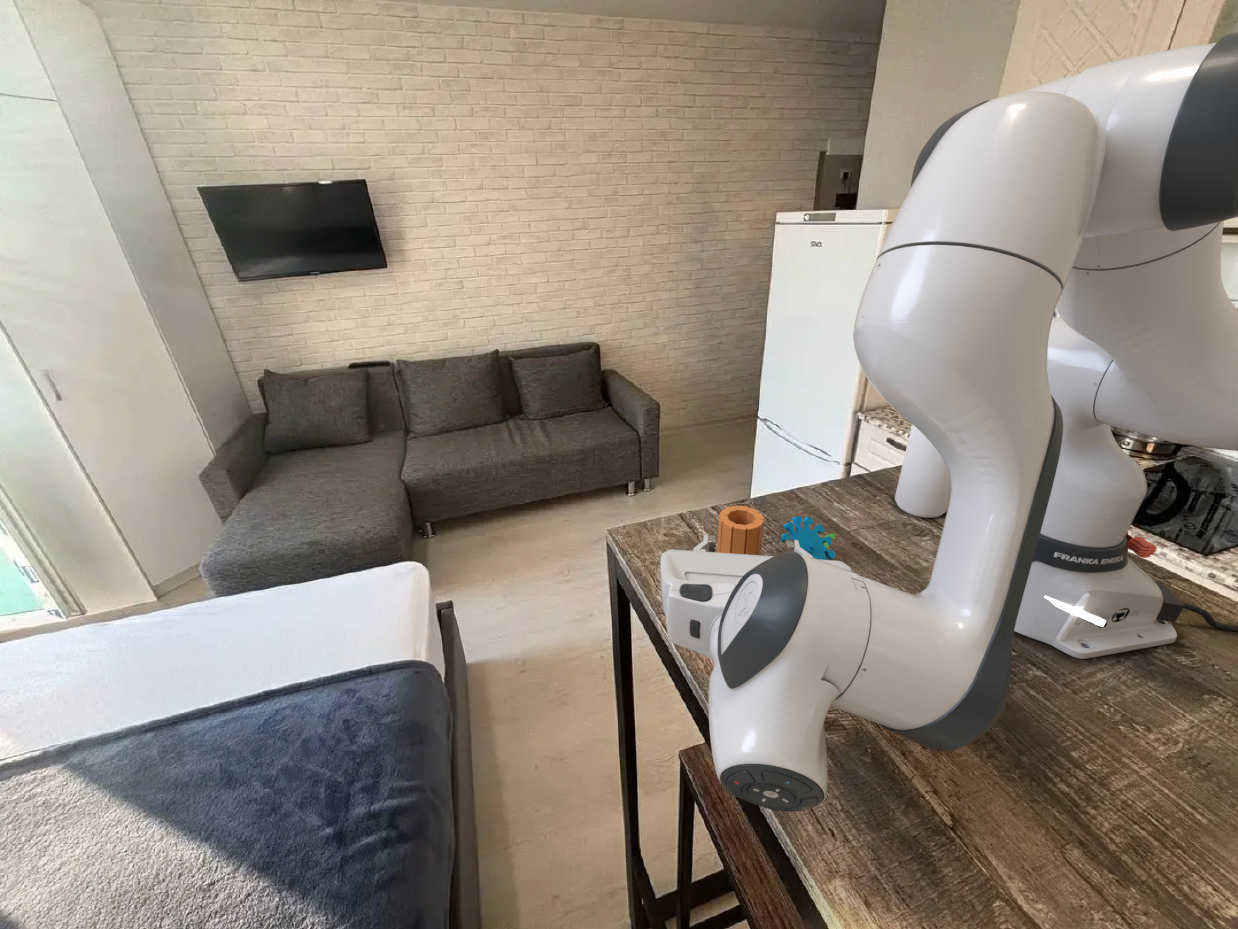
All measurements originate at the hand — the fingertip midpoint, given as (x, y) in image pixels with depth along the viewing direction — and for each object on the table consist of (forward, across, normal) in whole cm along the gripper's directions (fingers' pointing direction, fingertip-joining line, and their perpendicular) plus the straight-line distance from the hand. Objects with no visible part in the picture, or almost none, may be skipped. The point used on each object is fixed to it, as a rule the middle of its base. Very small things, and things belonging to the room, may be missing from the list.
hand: (749, 541), depth 61 cm
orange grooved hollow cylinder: (+12, 0, +13) cm, 18 cm away
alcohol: (+38, -34, +17) cm, 54 cm away
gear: (+18, -11, +17) cm, 27 cm away
